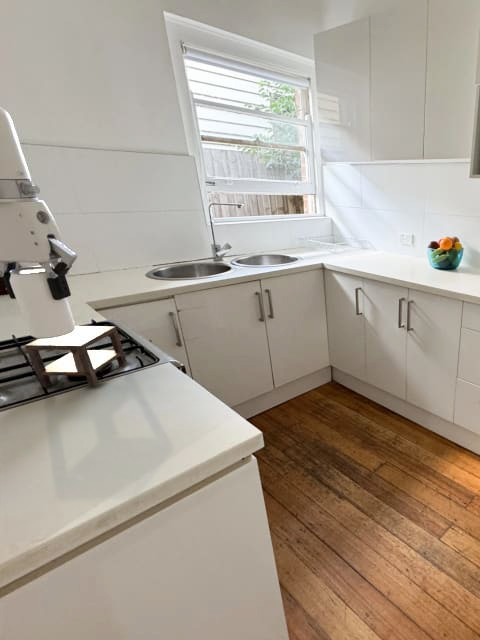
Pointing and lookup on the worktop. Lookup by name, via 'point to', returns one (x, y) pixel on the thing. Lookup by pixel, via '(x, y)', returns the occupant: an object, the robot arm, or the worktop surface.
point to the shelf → (77, 354)
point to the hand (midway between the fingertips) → (41, 296)
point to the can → (40, 304)
